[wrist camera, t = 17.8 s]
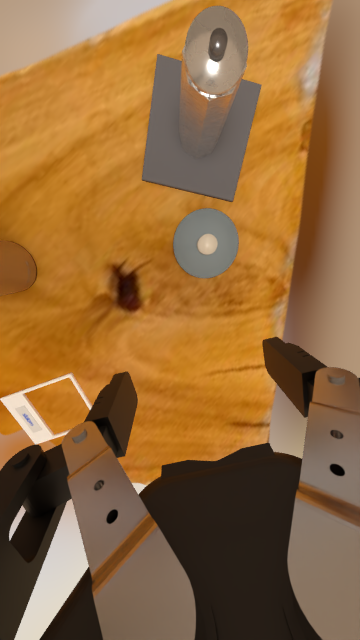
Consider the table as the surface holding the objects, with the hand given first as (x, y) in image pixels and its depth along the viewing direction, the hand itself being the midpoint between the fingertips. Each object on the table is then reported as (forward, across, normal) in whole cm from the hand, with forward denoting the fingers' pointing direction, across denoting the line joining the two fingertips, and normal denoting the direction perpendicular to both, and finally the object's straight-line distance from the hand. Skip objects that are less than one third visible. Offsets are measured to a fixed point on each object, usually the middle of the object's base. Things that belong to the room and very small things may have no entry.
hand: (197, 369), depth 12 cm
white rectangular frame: (+31, +36, +21) cm, 52 cm away
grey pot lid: (+30, -7, -7) cm, 31 cm away
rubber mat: (+30, -9, -24) cm, 39 cm away
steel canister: (+29, -9, -23) cm, 39 cm away
